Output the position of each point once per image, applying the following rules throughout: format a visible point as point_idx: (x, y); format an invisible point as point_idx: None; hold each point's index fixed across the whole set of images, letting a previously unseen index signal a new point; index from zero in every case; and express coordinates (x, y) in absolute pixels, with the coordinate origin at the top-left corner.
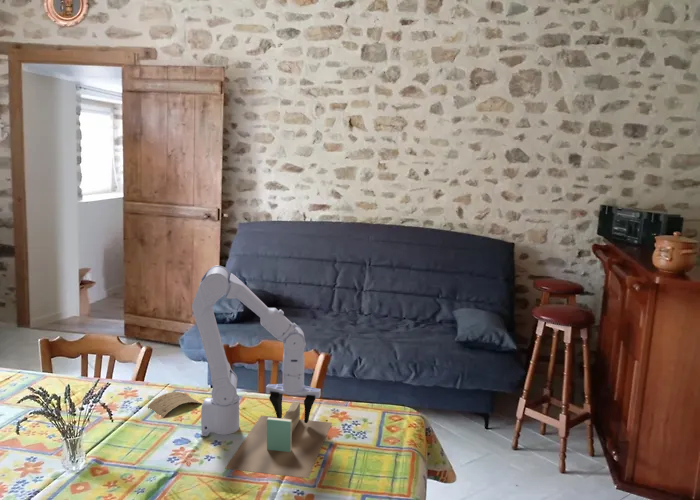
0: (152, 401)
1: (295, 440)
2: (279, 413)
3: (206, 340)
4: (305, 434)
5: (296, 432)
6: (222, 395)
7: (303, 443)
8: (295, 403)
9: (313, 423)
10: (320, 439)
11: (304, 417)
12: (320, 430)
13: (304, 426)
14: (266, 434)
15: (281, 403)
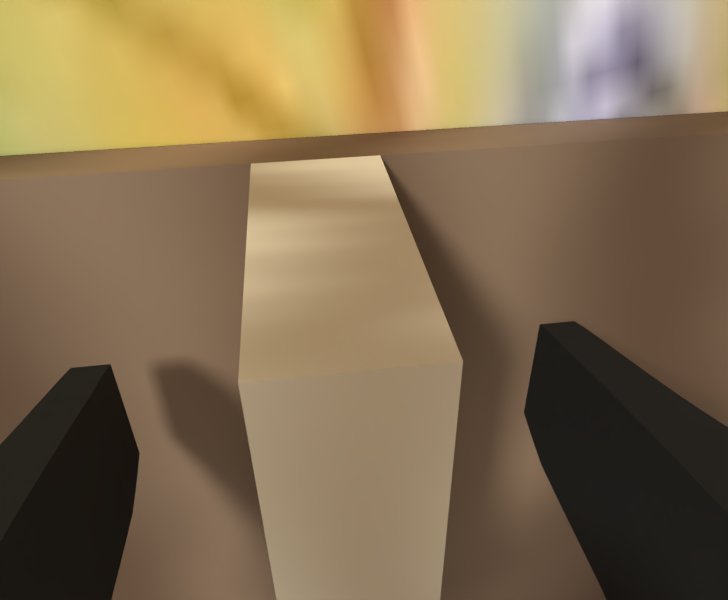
0: None
1: (448, 570)
2: (110, 558)
3: None
4: (530, 470)
5: None
6: None
7: (528, 581)
8: (352, 440)
9: (616, 221)
10: None
11: (560, 504)
12: (701, 358)
13: (495, 333)
14: (119, 579)
15: (5, 590)
